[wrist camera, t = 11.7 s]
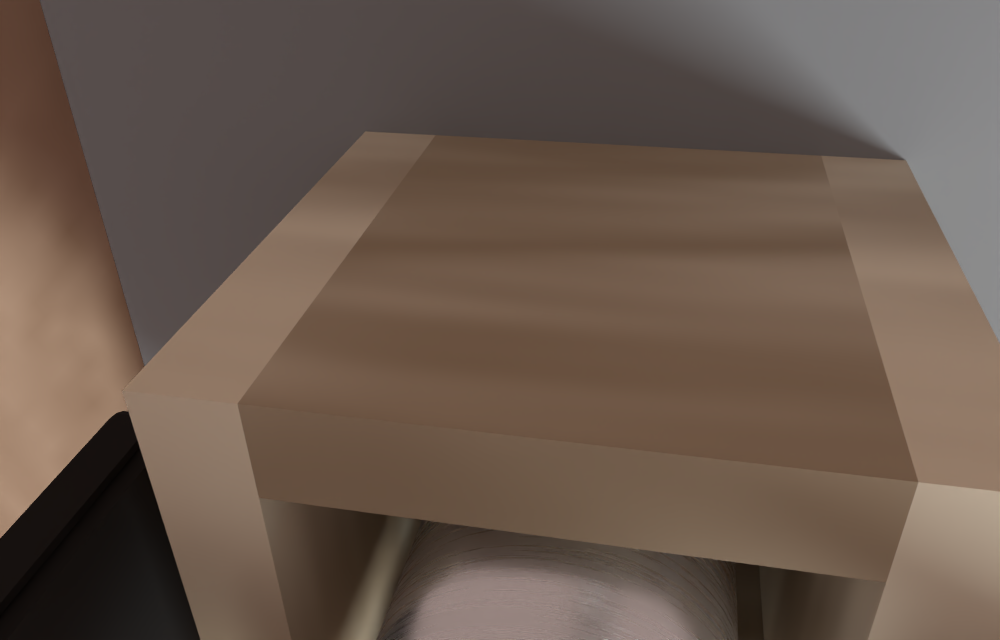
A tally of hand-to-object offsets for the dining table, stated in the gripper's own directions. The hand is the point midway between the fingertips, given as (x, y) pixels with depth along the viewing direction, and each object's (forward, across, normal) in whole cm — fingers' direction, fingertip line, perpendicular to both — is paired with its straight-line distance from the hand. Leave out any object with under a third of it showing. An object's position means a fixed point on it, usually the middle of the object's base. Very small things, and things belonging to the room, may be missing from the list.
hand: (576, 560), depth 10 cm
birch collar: (+4, 0, 0) cm, 4 cm away
